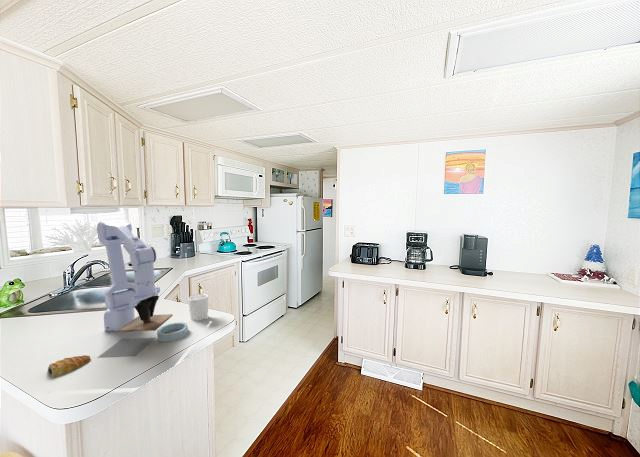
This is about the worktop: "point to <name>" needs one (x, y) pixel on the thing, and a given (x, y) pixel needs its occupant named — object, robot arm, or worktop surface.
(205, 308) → the white cup
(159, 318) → the lid
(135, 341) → the mat
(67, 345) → the worktop surface
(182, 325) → the bowl
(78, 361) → the pastry
